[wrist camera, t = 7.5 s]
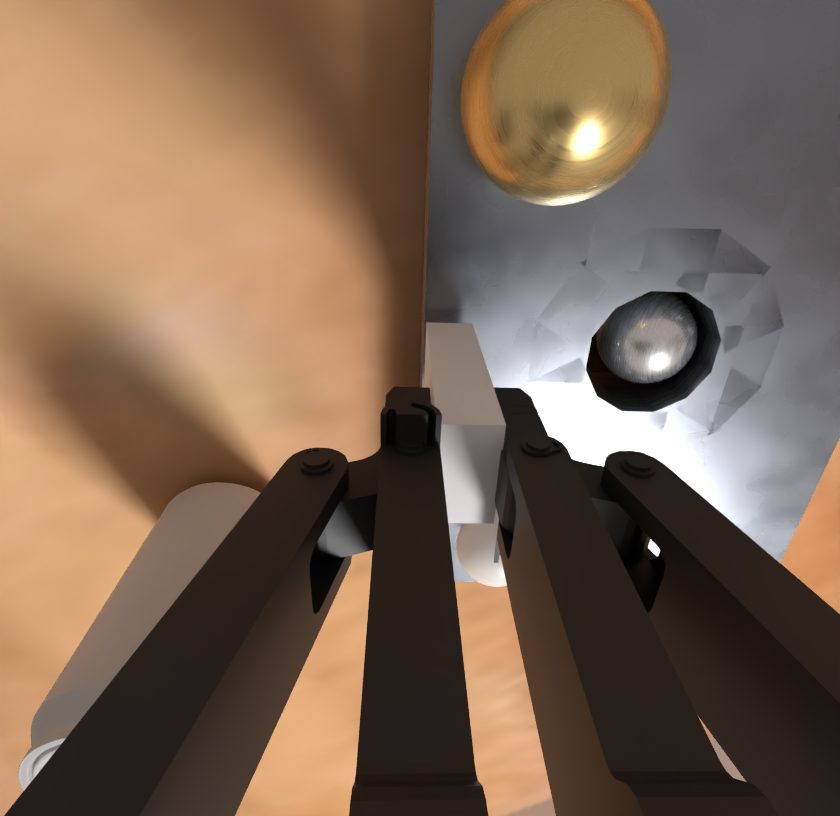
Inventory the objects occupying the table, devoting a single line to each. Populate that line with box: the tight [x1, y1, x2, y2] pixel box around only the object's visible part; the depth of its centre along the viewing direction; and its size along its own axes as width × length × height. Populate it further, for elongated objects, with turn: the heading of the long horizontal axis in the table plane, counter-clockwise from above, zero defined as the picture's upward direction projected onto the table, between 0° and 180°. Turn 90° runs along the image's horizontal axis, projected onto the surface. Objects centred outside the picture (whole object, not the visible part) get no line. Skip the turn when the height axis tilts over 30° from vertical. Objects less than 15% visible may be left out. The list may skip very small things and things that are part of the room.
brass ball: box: [461, 0, 672, 206], centre depth 13 cm, size 5×5×5 cm
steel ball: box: [596, 291, 697, 383], centre depth 20 cm, size 4×4×4 cm
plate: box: [420, 0, 840, 582], centre depth 20 cm, size 16×22×4 cm
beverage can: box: [18, 482, 261, 791], centre depth 21 cm, size 6×6×12 cm
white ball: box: [457, 509, 507, 587], centre depth 21 cm, size 3×3×3 cm
